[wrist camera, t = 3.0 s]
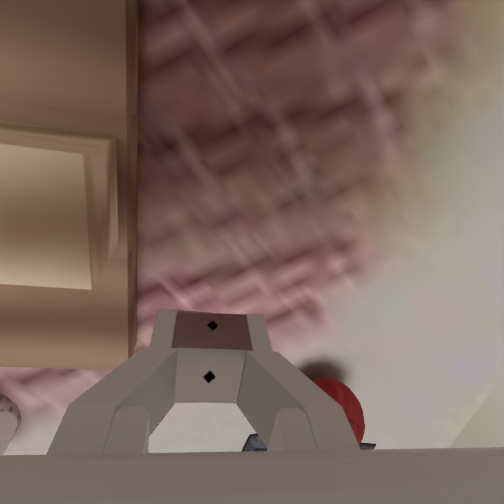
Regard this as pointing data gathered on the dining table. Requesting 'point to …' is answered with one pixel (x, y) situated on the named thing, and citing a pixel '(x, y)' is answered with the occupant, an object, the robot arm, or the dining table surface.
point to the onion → (345, 403)
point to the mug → (7, 421)
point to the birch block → (56, 205)
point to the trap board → (84, 120)
